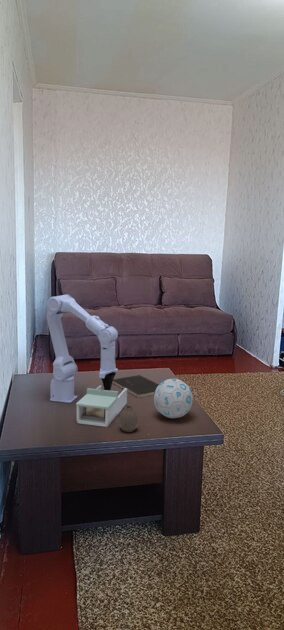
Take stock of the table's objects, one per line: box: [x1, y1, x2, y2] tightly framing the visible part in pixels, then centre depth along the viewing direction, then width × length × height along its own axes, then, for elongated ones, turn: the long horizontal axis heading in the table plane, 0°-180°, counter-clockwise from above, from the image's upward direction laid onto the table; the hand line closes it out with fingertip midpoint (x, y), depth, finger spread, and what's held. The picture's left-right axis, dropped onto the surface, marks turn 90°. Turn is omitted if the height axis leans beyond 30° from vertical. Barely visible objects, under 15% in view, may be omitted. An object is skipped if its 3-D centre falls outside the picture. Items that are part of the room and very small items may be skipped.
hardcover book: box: [112, 374, 160, 398], centre depth 215 cm, size 16×23×2 cm
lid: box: [75, 387, 119, 409], centre depth 176 cm, size 12×12×3 cm
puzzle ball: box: [153, 378, 194, 419], centre depth 180 cm, size 15×15×15 cm
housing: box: [76, 384, 128, 428], centre depth 183 cm, size 12×26×6 cm, turn 166°
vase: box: [118, 405, 139, 433], centre depth 167 cm, size 7×7×9 cm
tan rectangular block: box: [86, 407, 106, 418], centre depth 177 cm, size 7×4×5 cm, turn 76°
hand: (107, 390), depth 187 cm, fingers closed
